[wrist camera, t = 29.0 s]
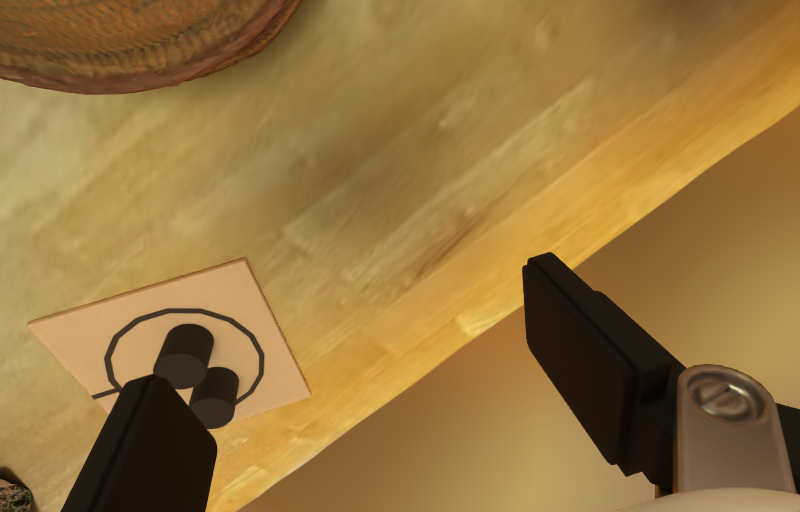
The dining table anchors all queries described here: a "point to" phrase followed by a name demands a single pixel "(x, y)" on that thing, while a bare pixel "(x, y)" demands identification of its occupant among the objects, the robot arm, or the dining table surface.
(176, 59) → the basket
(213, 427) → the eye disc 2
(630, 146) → the dining table surface
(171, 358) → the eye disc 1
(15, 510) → the landscape model
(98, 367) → the drawing pad
